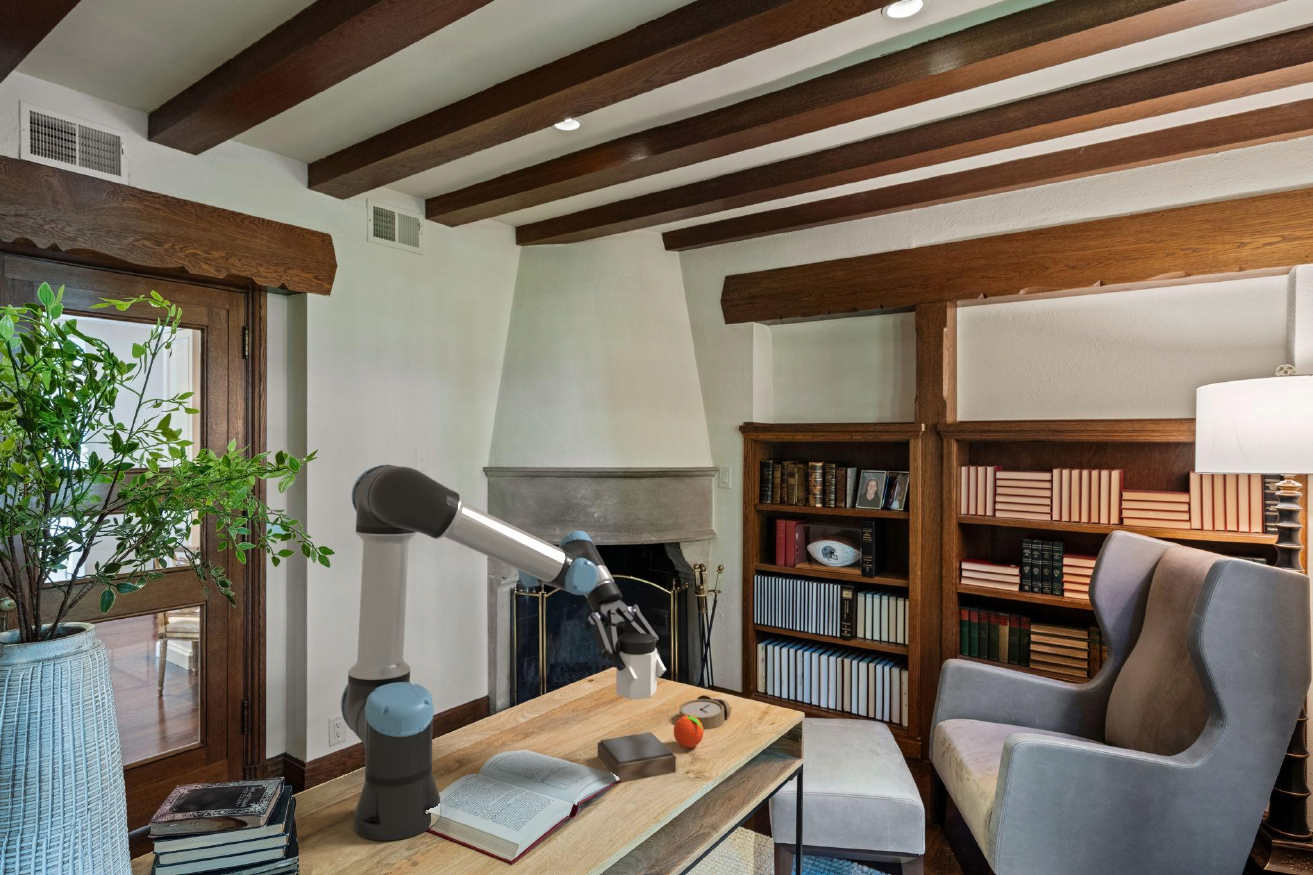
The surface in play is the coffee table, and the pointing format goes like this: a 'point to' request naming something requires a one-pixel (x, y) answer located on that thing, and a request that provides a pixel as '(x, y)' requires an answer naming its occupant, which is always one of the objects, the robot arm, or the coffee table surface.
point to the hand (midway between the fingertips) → (647, 677)
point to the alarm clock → (707, 711)
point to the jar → (638, 665)
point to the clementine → (688, 731)
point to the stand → (636, 756)
